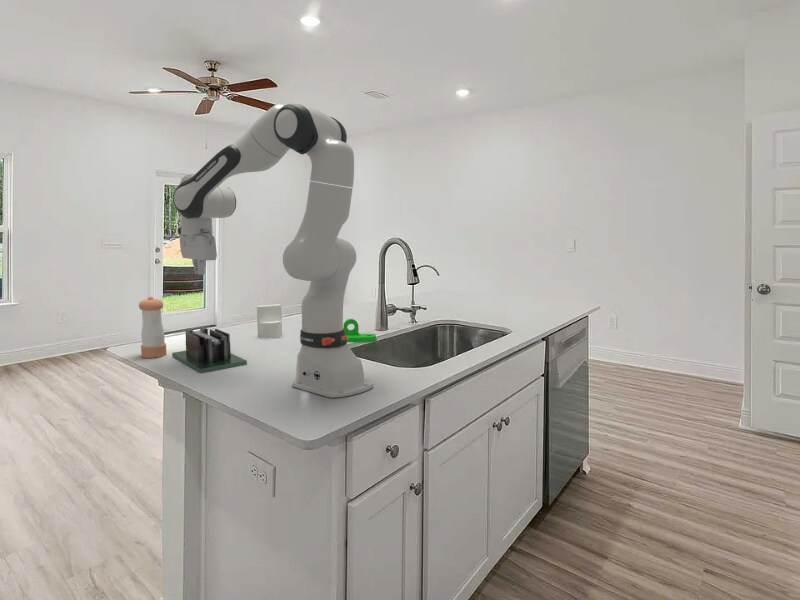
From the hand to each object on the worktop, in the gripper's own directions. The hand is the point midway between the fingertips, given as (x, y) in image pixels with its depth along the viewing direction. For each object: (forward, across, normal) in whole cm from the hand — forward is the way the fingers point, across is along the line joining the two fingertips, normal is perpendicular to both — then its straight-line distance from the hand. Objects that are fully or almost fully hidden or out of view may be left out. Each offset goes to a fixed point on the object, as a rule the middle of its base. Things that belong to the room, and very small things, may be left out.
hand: (199, 274), depth 152 cm
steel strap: (+21, -2, 0) cm, 21 cm away
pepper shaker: (+27, +14, +11) cm, 32 cm away
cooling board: (+27, -4, 0) cm, 27 cm away
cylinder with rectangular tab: (+27, +15, -31) cm, 44 cm away
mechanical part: (+28, -12, -53) cm, 61 cm away
